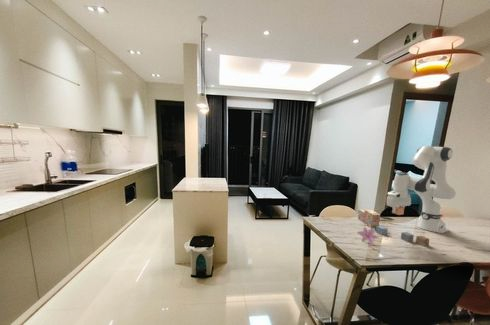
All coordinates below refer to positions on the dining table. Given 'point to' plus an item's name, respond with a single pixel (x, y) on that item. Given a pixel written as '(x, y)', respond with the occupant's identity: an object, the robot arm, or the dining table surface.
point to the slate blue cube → (381, 230)
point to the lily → (368, 235)
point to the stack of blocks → (369, 218)
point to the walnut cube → (422, 240)
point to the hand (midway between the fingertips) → (397, 211)
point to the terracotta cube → (399, 210)
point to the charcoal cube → (407, 236)
